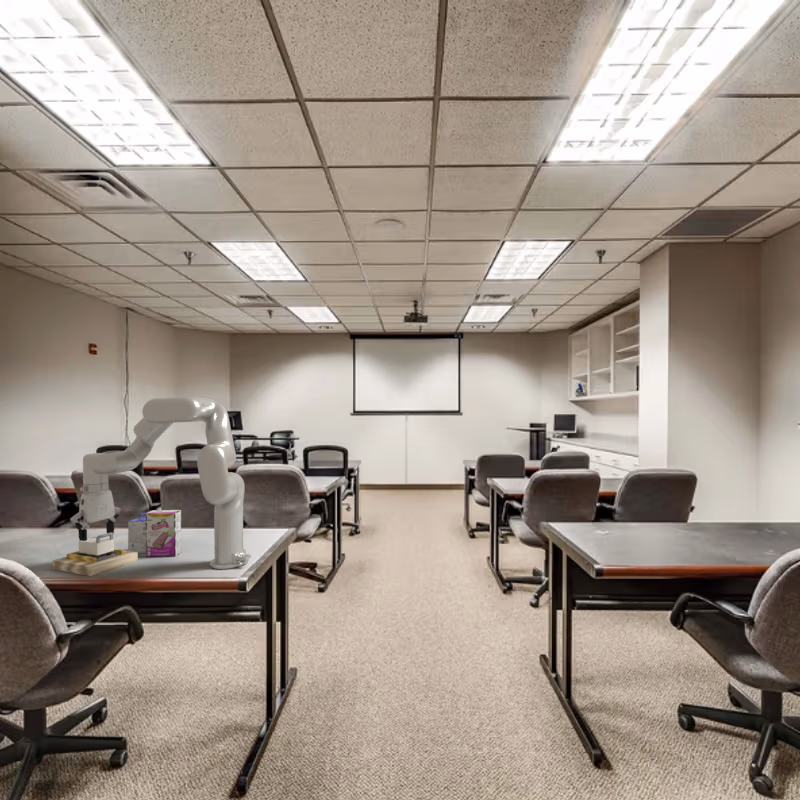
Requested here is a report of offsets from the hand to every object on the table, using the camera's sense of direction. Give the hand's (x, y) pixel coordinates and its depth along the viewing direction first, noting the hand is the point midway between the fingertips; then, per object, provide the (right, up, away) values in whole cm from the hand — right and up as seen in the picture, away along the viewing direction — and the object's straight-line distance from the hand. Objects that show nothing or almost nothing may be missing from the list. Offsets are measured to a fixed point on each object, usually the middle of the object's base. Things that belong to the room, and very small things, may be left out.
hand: (97, 536), depth 169 cm
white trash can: (0, -7, 0) cm, 7 cm away
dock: (0, -10, 0) cm, 10 cm away
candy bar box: (+19, -10, +10) cm, 23 cm away
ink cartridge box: (+8, -10, +16) cm, 21 cm away
